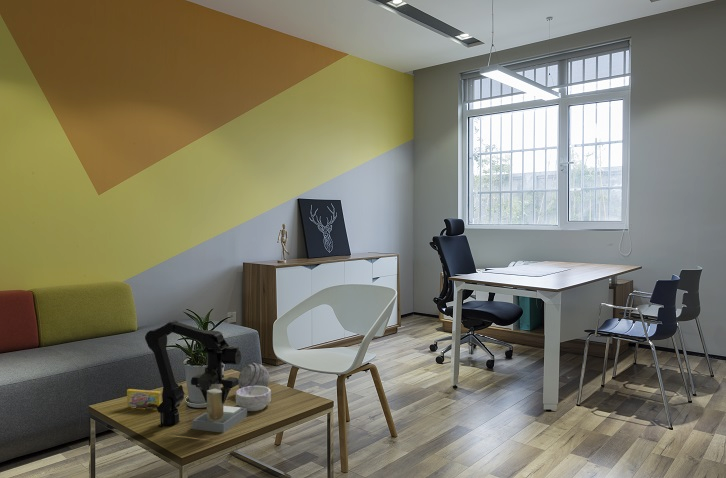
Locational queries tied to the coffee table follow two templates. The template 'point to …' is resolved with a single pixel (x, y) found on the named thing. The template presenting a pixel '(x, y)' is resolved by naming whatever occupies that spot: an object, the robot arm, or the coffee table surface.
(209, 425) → the tote
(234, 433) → the coffee table surface
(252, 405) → the paper bowls
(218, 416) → the skincare box
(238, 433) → the coffee table surface
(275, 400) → the coffee table surface
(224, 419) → the white rectangular block
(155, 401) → the candy box
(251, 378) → the decorative orb
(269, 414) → the coffee table surface
